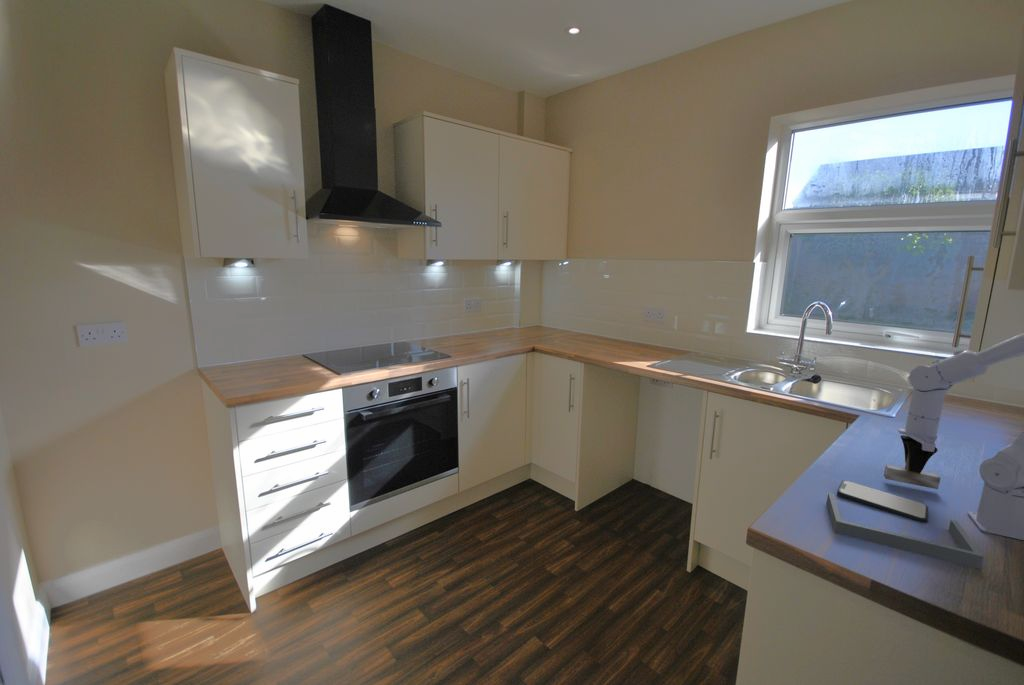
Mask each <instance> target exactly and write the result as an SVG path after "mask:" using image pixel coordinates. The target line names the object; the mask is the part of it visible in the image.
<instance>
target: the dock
mask: <svg viewBox="0 0 1024 685" xmlns="http://www.w3.org/2000/svg"><path fill="white" fill-rule="evenodd" d="M826 506H827V510H828V513H829V518H830V521H831V525H832V528H833V532H834V534H835V533H836V534H839V535H843V536H847V537H851V538H855V539H859V540H863V541H868V542H870V543H871V542H872V543H874V544H879V545H883V546H887V547H892V548H894V549H900V550H903V551H907V552H911V553H915V554H919V555H923V556H927V557H932V558H935V559H939V560H943V561H947V562H951V563H955V564H959V565H962V566H967V567H971V568H973V569H974V568H976V569H980V570H981V569H982V564H983V561H984V555H983V554H982V553H981V551H980V550H979V549H978V547H977V546H976V544H975V543H974V542H973V540H972V539H971V538H970V536H969V535H968V533H967V532H966V531H965V529H964V528H963V527H962V526H961V524H960V523H959V522H958V520H954V519H950V521H949V526H948V529H947V531H948V533H949V534H950V535H951V537H952V538H953V541H955V543H956V544H957V546H958V547H955V546H951V545H947V544H942V543H939V542H934V541H931V540H925V539H921V538H918V537H913V536H910V535H905V534H902V533H896V532H892V531H888V530H884V529H881V528H876V527H873V526H869V525H868V526H867V525H863V524H860V523H859V524H858V523H855V522H850V521H847V520H843V519H842V517H841V513H840V510H839V508H838V503H837V501H836V498H835V495H834V493H831V492H828V494H827V498H826Z"/></svg>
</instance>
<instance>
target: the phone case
mask: <svg viewBox="0 0 1024 685" xmlns="http://www.w3.org/2000/svg"><path fill="white" fill-rule="evenodd" d="M836 496H837V497H839V498H841V499H844V500H847V501H850V502H852V503H853V502H854V503H857V504H860V505H863V506H867V507H869V508H872V509H874V510H875V509H877V510H879V511H882V512H885V513H888V514H892V515H895V516H898V517H902V518H905V519H908V520H912V521H915V522H918V523H921V524H922V523H923V524H926V523H928V518H929V506H927V505H926V504H924V503H921V502H918V501H915V500H912V499H908V498H906V497H902V496H899V495H895V494H892V493H889V492H885V491H882V490H879V489H875V488H873V487H871V486H865V485H863V484H860V483H856V482H852V481H850V480H842V481H841V483H840V485H839V487H838V489H837V492H836Z"/></svg>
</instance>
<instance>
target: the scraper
mask: <svg viewBox="0 0 1024 685" xmlns="http://www.w3.org/2000/svg"><path fill="white" fill-rule="evenodd" d="M884 467H885V468H884V472H883V478H884V479H885V480H887V481H894V482H899V483H903V484H904V483H905V484H909V485H914V486H920V487H925V488H928V489H935V490H939V487H940V484H941V483H940V482H941V477H940V476H941V475H939V474H938V473H934V472H933V473H932V472H927V471H923V470H922V471H921V473H919V472H913V471H910V470H909V454H908V455H907V460H906V463H905V466H904V467H901V466H895V465H890V464H885V466H884Z"/></svg>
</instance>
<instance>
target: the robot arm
mask: <svg viewBox="0 0 1024 685" xmlns="http://www.w3.org/2000/svg"><path fill="white" fill-rule="evenodd" d="M952 354H953V355H951V356H949V357H946V358H944V359H941V360H940V359H936V360H933V361H931V362H932V364H931V365H918V366H916V367H915V368H913V369H912V370H911V371H910V372H909V376H908V380H909V383H910V384H911V386H912V391H911V398H910V402H909V407H908V408H909V409H908V413H907V417H906V424H905V428H898V429H897V431H898V433H899V434H902V435H900V439H901V442H902V444H903V451H904V462H905V464H906V460H907V455H908V454H909V470H910V471H913V472H919V473H921V471H923V469H924V468H925V467H926V465H927V463H928V462H929V460H930V459H931V458H932V457H933V456H934V455H935V454H936V453H937V452H938V448H937V447H936V442H937V440H938V432H939V431H938V430H939V425H940V420H941V415H942V411H943V406H944V402H945V398H946V396H947V394H948V393H947V392H948V390H950V389H952V388H953V387H954V386H955V385H956V384H960V383H962V382H966V381H968V380H972V379H974V378H977V377H980V376H983V375H985V374H986V373H987V371H988V368H989V367H990V366H992V365H995V364H999V363H1002V362H1006V361H1008V360H1012V359H1015V358H1018V357H1021V356H1024V332H1023V333H1020V334H1018V335H1015V336H1013V337H1011V338H1009V339H1006V340H1004V341H1002V342H999V343H997V344H994V345H992V346H990V347H988V348H985V349H983V350H981V351H978V352H976V351H974V350H969V349H968V350H962V349H961V350H956V351H954V352H952ZM978 473H979V475H980V477H981V479H982V481H983V482H984V483H983V486H982V491H981V495H980V499H979V503H978V507H977V511H976V512H975V511H967V515H968V516H969V517H970V519H971V520H972V521H973V522H974V524H975V525H976V526H977V527H978V529H979V530H980V531H982V532H984V533H989V534H993V535H998V536H1003V537H1007V538H1011V539H1017V540H1021V541H1024V429H1023V430H1022V431H1021V432H1020V434H1019V435H1018V436H1017V437H1016V439H1015V440H1014V441H1013V442H1012V443H1010V444H1009V445H1007V446H1005V447H1003V448H1002V449H1000V450H998V452H997V453H996V454H995V455H994V456H993V457H990V458H987V459H984V460H983V461H982V462H981V463H980V465H979V470H978Z"/></svg>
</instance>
